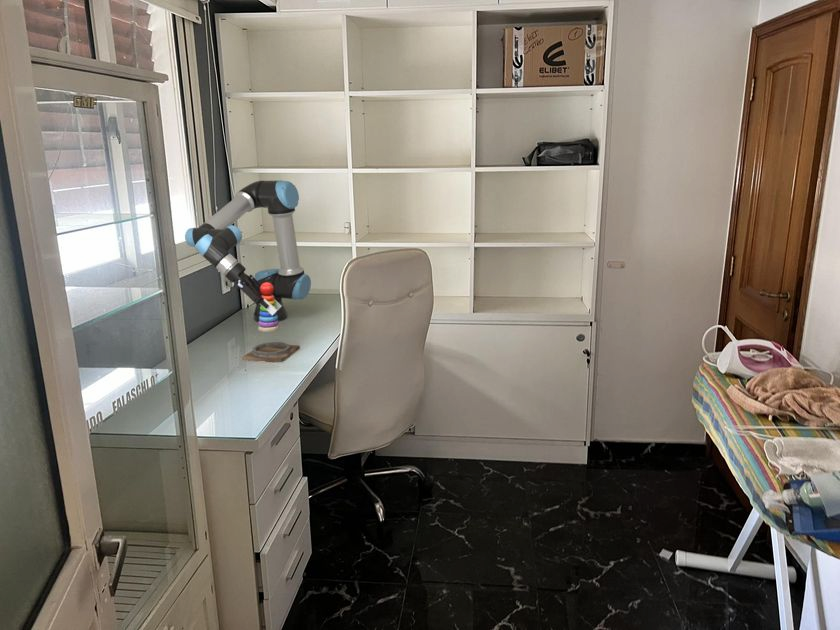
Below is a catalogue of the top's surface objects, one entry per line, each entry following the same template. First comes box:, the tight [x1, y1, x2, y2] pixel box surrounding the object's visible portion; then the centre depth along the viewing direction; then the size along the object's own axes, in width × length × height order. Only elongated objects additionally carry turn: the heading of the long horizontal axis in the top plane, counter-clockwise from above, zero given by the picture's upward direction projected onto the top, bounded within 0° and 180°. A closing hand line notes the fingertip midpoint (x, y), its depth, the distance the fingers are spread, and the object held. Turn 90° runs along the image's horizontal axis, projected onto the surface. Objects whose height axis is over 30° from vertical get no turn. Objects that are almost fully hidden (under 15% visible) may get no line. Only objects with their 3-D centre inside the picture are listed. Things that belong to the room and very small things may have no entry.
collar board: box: [241, 341, 301, 363], centre depth 250 cm, size 18×16×3 cm
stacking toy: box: [257, 282, 280, 333], centre depth 245 cm, size 8×8×19 cm
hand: (277, 310), depth 246 cm, fingers closed on stacking toy, 6 cm apart
